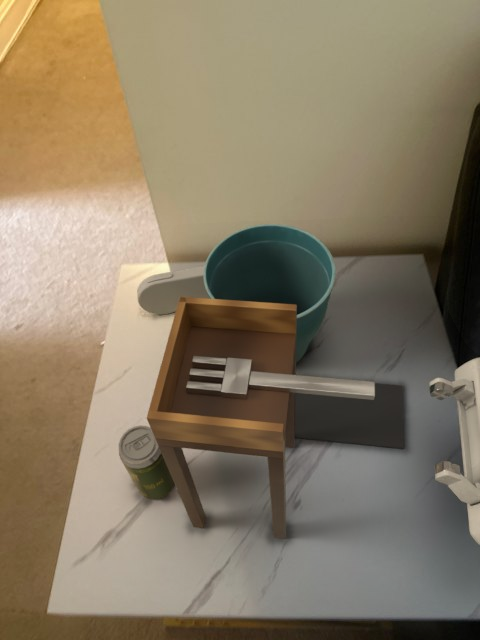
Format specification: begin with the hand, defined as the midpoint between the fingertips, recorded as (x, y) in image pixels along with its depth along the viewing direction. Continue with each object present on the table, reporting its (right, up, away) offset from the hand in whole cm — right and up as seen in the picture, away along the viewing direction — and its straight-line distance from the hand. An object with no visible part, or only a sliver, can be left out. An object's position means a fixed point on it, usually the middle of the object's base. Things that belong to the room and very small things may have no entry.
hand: (436, 425), depth 57 cm
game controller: (-27, +13, +39) cm, 49 cm away
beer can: (-31, -12, +20) cm, 39 cm away
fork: (-16, +4, -2) cm, 17 cm away
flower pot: (-15, +7, +33) cm, 37 cm away
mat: (-7, -2, +25) cm, 26 cm away
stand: (-19, -11, +19) cm, 29 cm away
